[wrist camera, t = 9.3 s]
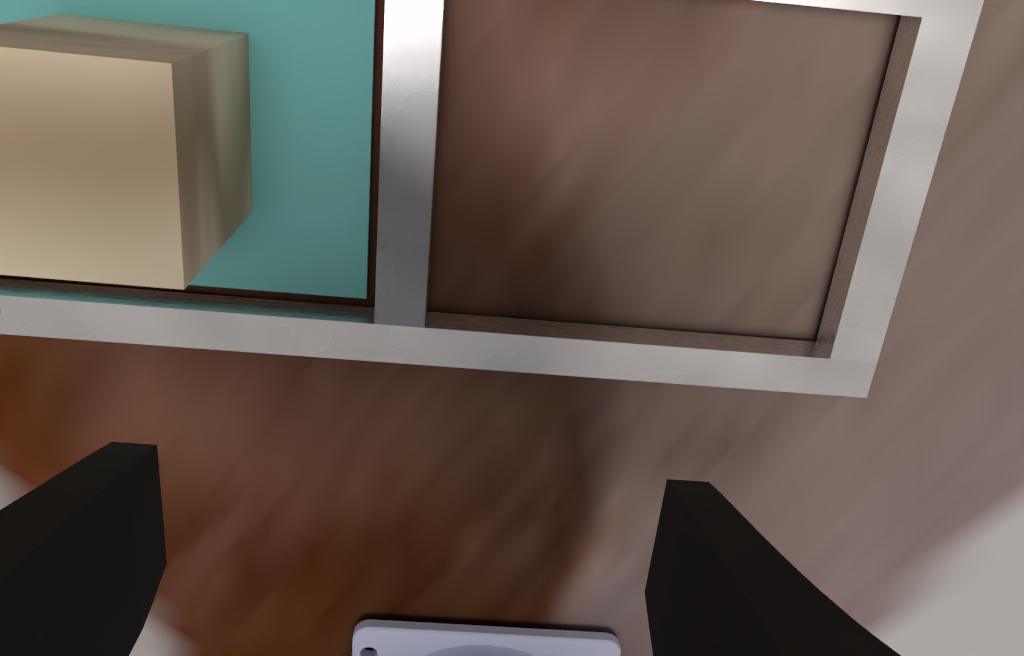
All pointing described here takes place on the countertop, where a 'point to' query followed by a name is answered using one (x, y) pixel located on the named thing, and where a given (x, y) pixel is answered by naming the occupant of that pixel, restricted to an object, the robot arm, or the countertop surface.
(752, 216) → the countertop surface
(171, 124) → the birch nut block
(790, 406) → the countertop surface
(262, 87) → the rail frame
